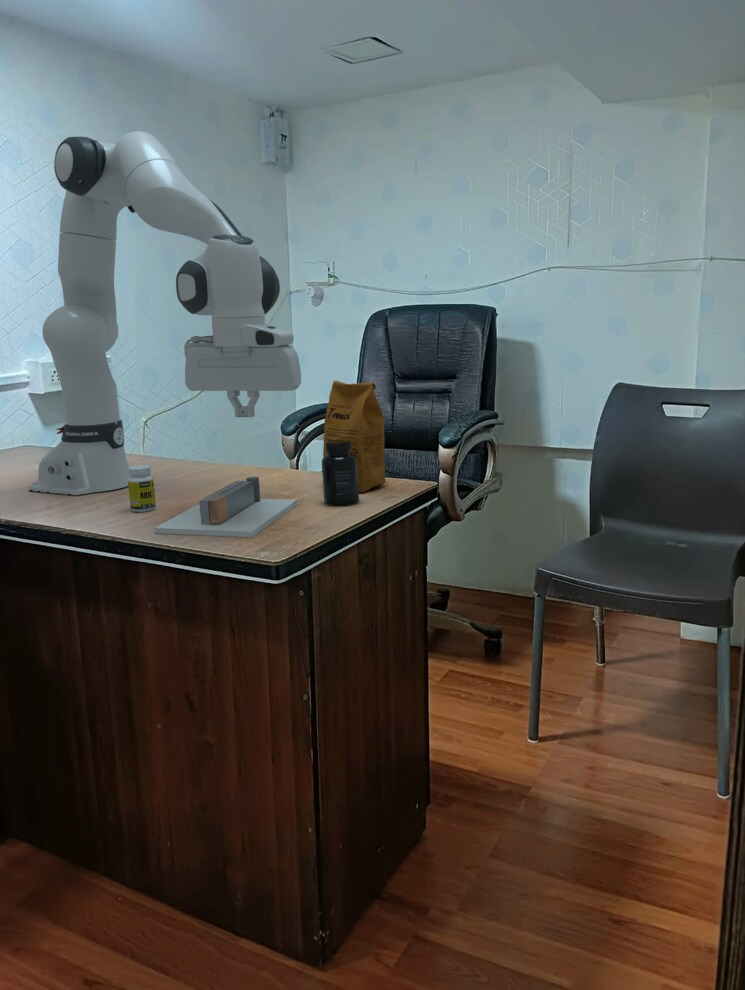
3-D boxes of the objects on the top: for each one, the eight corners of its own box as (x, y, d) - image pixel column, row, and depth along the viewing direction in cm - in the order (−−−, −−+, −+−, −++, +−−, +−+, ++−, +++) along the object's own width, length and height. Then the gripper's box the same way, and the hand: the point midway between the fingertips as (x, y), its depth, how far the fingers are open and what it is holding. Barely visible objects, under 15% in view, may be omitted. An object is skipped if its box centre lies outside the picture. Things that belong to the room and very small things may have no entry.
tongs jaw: (210, 523, 139) (208, 500, 138) (246, 501, 153) (245, 480, 152) (219, 523, 138) (217, 500, 137) (255, 501, 153) (253, 480, 152)
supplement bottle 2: (363, 498, 157) (361, 438, 154) (351, 507, 151) (349, 444, 148) (331, 497, 159) (328, 437, 157) (318, 505, 153) (314, 443, 150)
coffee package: (350, 479, 175) (345, 377, 170) (392, 486, 167) (389, 380, 162) (317, 487, 168) (311, 382, 163) (359, 495, 160) (355, 385, 155)
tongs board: (155, 533, 138) (152, 502, 137) (211, 502, 159) (209, 475, 158) (252, 537, 134) (249, 505, 132) (297, 504, 154) (295, 476, 153)
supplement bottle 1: (142, 513, 152) (138, 470, 150) (125, 511, 154) (120, 468, 152) (161, 507, 156) (157, 465, 154) (144, 505, 158) (140, 463, 156)
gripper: (174, 337, 134) (181, 419, 138) (288, 334, 129) (293, 420, 132) (192, 335, 140) (198, 413, 144) (302, 333, 135) (306, 414, 138)
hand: (245, 417), depth 138 cm, fingers closed
